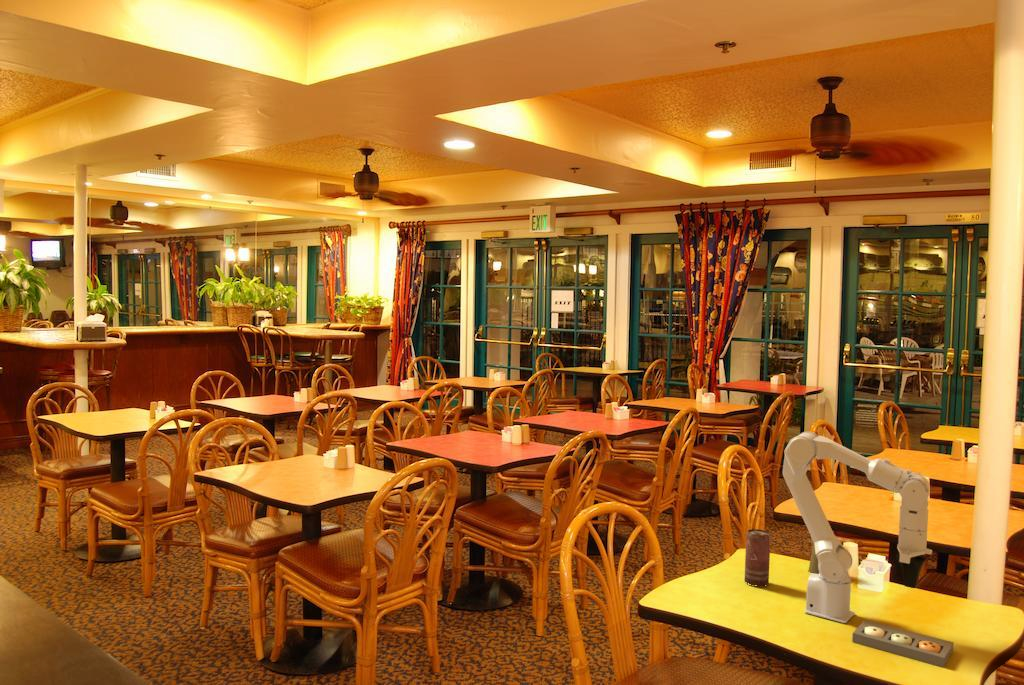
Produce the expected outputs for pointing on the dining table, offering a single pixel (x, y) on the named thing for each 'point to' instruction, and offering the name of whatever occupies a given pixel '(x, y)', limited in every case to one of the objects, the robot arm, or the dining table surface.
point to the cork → (813, 561)
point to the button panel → (901, 648)
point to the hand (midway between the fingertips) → (910, 586)
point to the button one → (874, 631)
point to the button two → (901, 639)
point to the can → (757, 557)
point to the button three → (929, 646)
